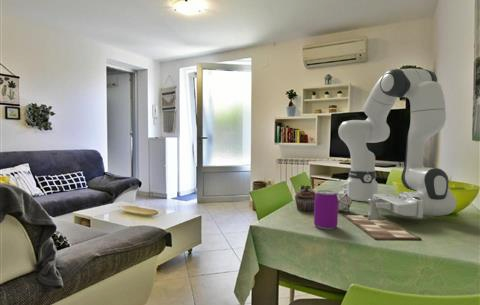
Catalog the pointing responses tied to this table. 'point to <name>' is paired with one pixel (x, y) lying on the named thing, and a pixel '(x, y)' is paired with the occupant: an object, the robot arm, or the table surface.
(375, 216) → the rook chess piece
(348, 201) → the game die
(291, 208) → the table surface
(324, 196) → the beverage can
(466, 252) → the table surface
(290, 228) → the table surface
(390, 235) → the board
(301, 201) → the cupcake
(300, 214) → the table surface
